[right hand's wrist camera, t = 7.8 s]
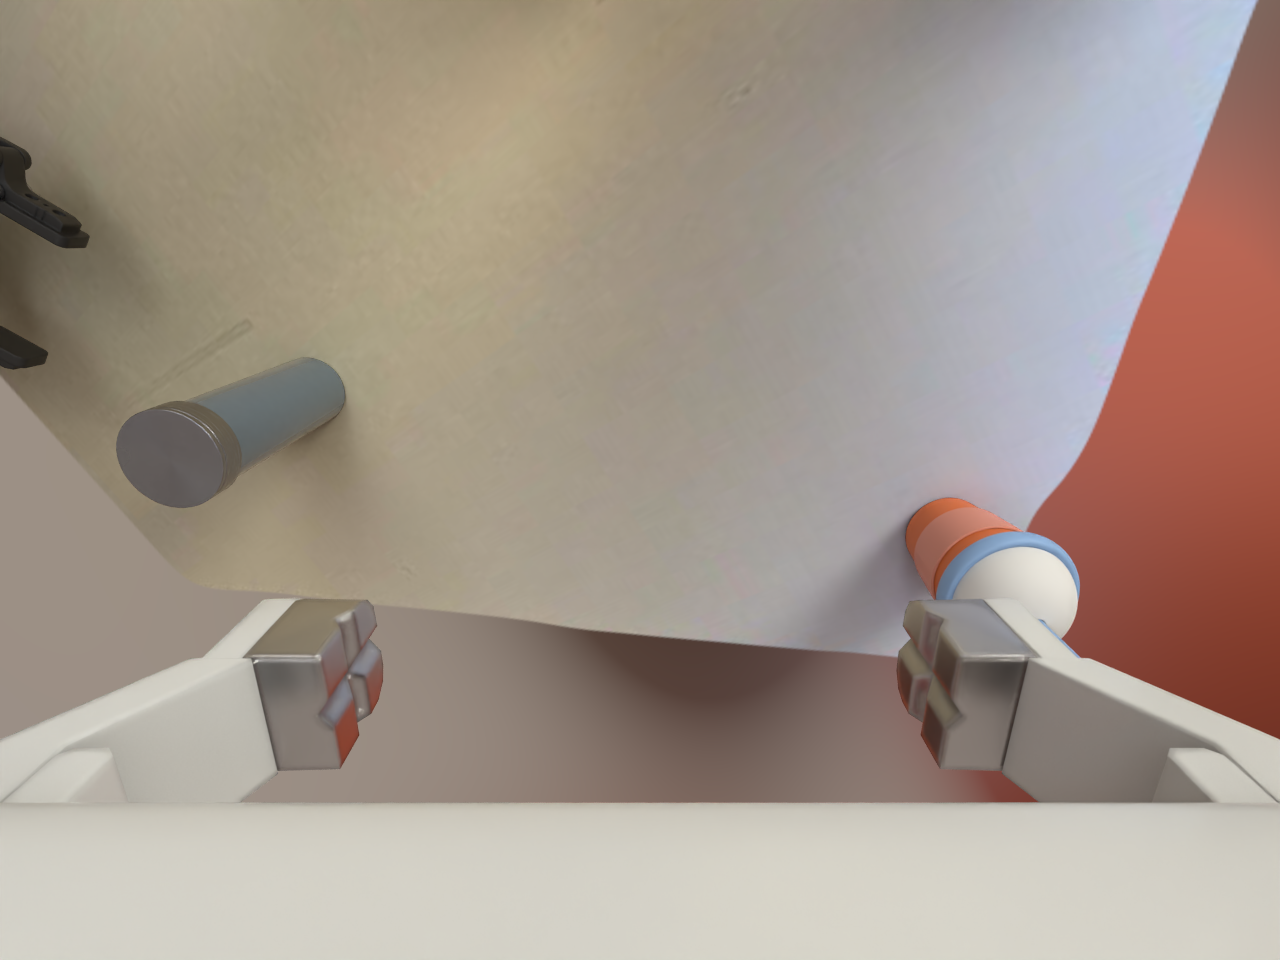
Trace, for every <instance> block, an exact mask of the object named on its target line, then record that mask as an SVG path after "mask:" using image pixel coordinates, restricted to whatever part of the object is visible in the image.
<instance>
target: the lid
mask: <svg viewBox="0 0 1280 960" xmlns="http://www.w3.org/2000/svg"><path fill="white" fill-rule="evenodd" d="M116 451H117V457H118V461H119V464H120V466H121V469H122V471H123V472H124V474H125V476H126V477H127V479H128V480H129V481H130V482H131V484H132V485H133V486H134V487H135V488H136V489H137V490H138V491H140V492H141V493H142V494H143V495H145V496H146V497H148V498H150V499H151V500H153V501H155V502H158V503H160V504H163V505H166V506H170V507H177V508H187V507H193V506H197V505H200V504H202V503H204V502H206V501H208V500H209V499H211V498H213V497H214V496H216V495H217V494H219V493H221V492H222V491H224V490H225V489H227V488H228V487H229V486H231V485H232V484H233V482H234V481H235V480H236V478H237V477H238V475H239V472H240V469H241V465H242V452H241V448H240V444H239V441H238V439H237V437H236V435H235V433H234V432H233V430H232V429H231V427H230V426H229V425H228V424H227V423H226V422H225V421H224V420H223V419H222V418H221V417H220V416H219V415H218V414H216V413H215V412H213V411H212V410H210V409H208V408H206V407H204V406H202V405H199V404H196V403H192V402H186V401H173V402H168V403H164V404H161V405H158V406H156V407H153V408H150V409H147V410H145V411H142V412H140V413H137V414H135V415H134V416H132V417H131V418H129V419H128V420H127V421H126V422H125V423H124V425H123V426H122V428H121V430H120V431H119V434H118V437H117V443H116Z"/></svg>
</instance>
